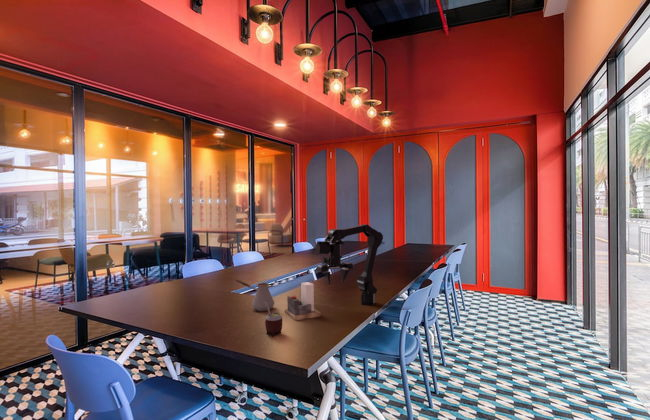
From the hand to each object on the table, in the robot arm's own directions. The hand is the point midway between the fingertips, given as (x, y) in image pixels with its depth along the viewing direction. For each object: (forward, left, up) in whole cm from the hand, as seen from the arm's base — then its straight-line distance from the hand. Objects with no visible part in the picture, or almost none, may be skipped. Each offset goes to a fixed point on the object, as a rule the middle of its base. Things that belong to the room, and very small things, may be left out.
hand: (335, 283), depth 176 cm
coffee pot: (+40, +15, -13) cm, 45 cm away
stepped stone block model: (+12, +14, -13) cm, 23 cm away
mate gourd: (+11, +43, -13) cm, 46 cm away
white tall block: (+10, +12, -11) cm, 20 cm away
